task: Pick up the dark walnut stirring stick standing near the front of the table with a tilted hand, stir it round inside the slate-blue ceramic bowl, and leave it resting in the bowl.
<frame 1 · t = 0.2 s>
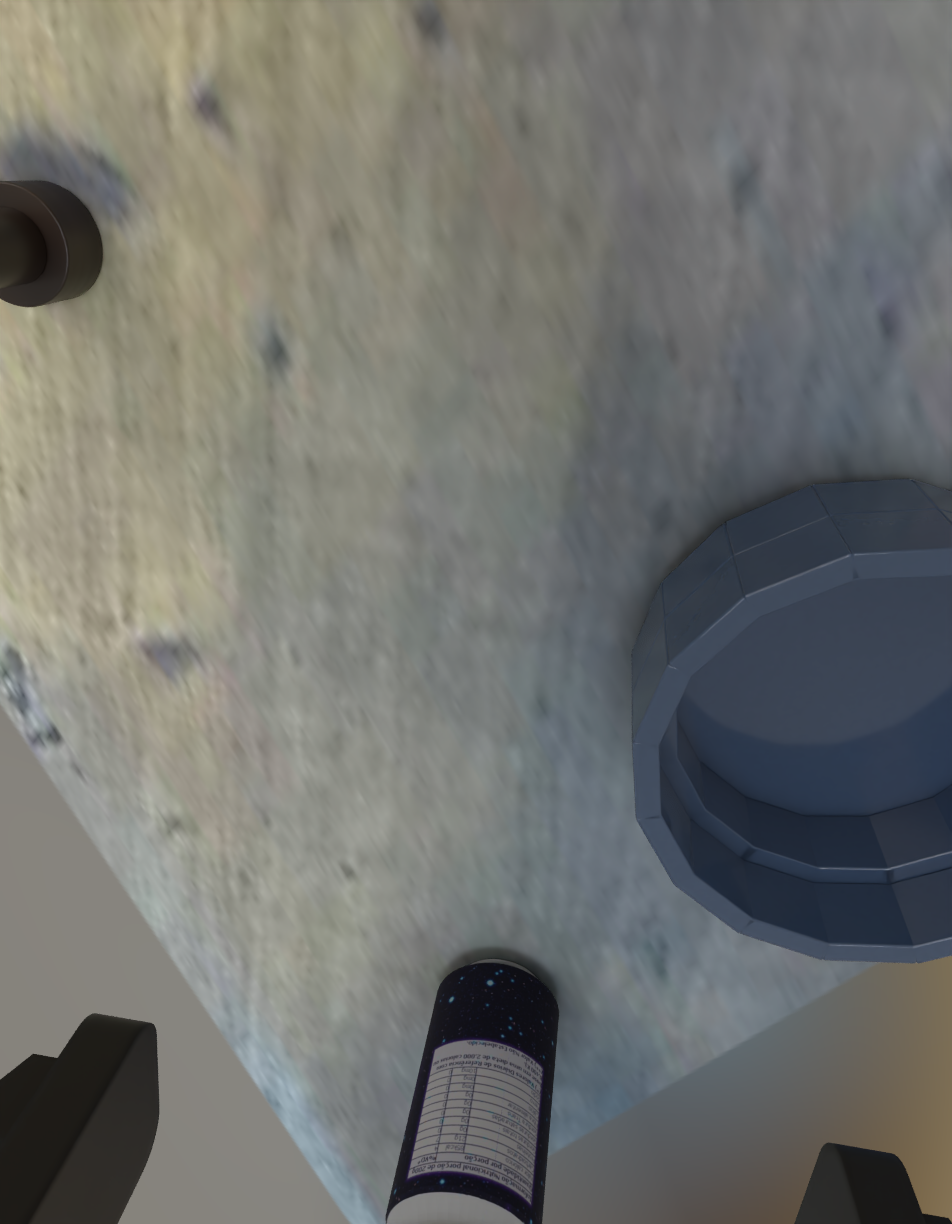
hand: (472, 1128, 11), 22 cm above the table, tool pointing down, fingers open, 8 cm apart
beverage can: (500, 987, 41), on the table
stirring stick: (51, 241, 29), on the table
bowl: (840, 669, 31), on the table
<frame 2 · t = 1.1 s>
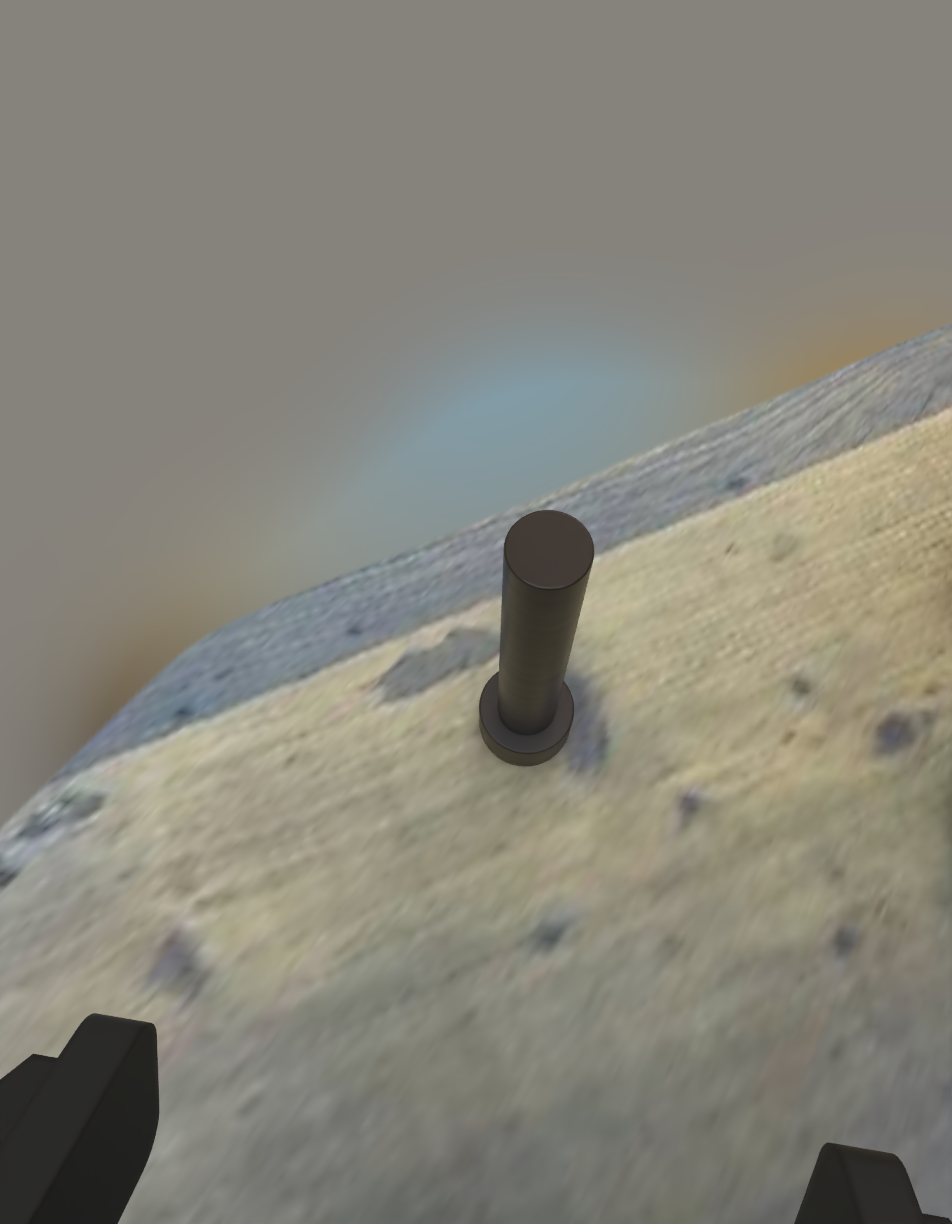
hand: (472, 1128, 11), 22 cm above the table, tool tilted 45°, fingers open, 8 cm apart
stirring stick: (524, 721, 35), on the table
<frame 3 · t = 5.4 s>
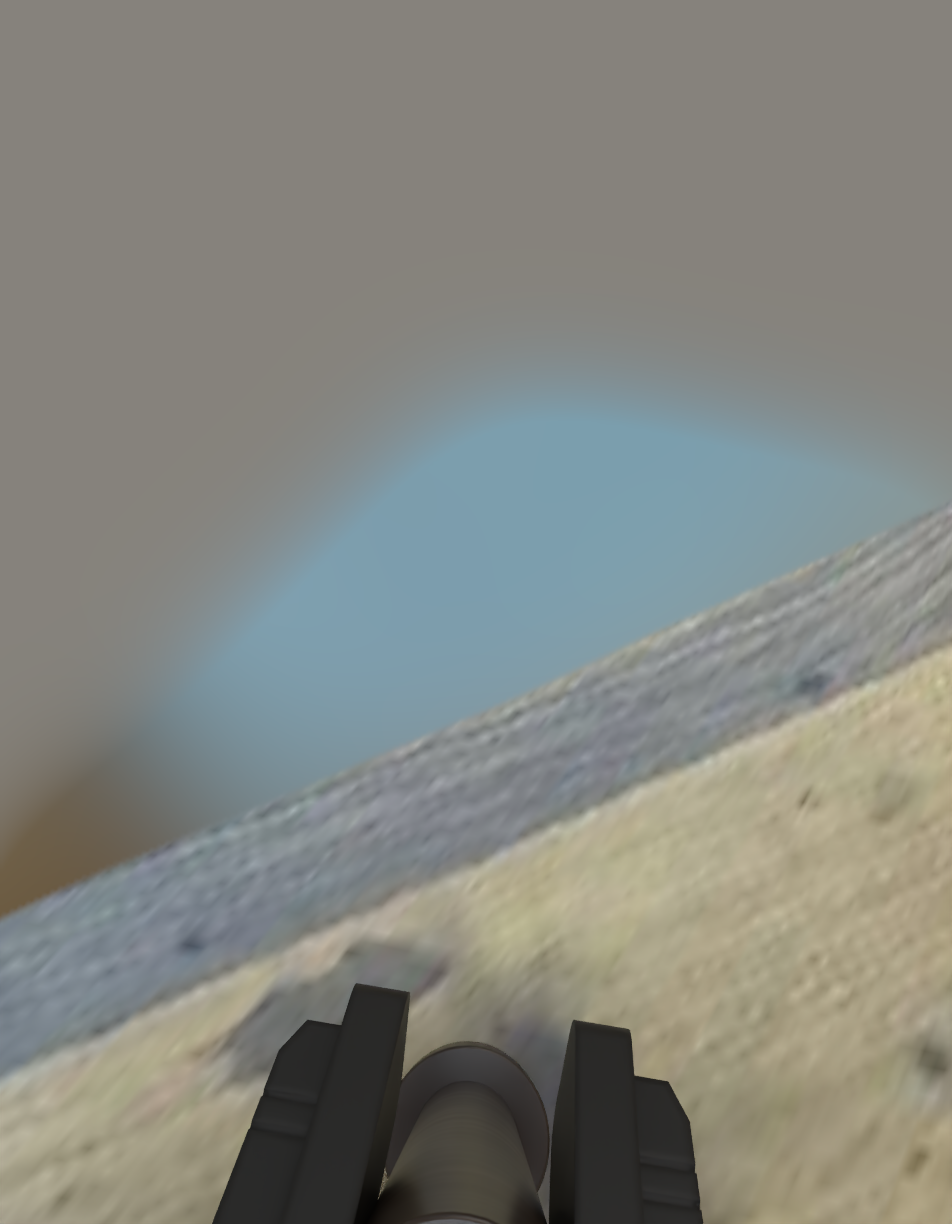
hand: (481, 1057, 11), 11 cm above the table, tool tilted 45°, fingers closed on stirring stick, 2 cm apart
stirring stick: (466, 1126, 21), on the table, touching gripper
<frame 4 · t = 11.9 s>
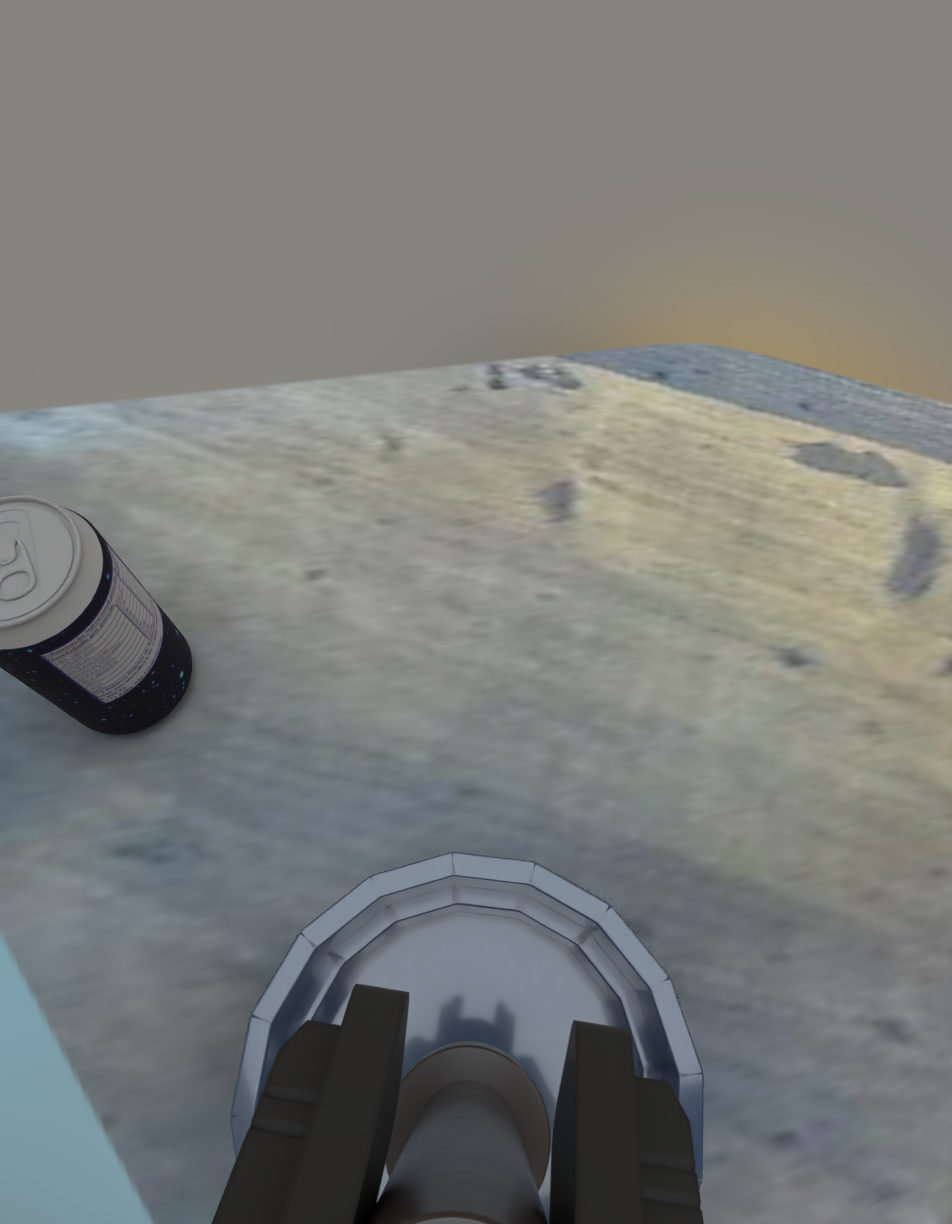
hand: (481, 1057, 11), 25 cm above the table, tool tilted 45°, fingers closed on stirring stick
beverage can: (136, 680, 40), on the table
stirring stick: (467, 1126, 21), point 14 cm above the table, touching gripper
bowl: (470, 1077, 33), on the table
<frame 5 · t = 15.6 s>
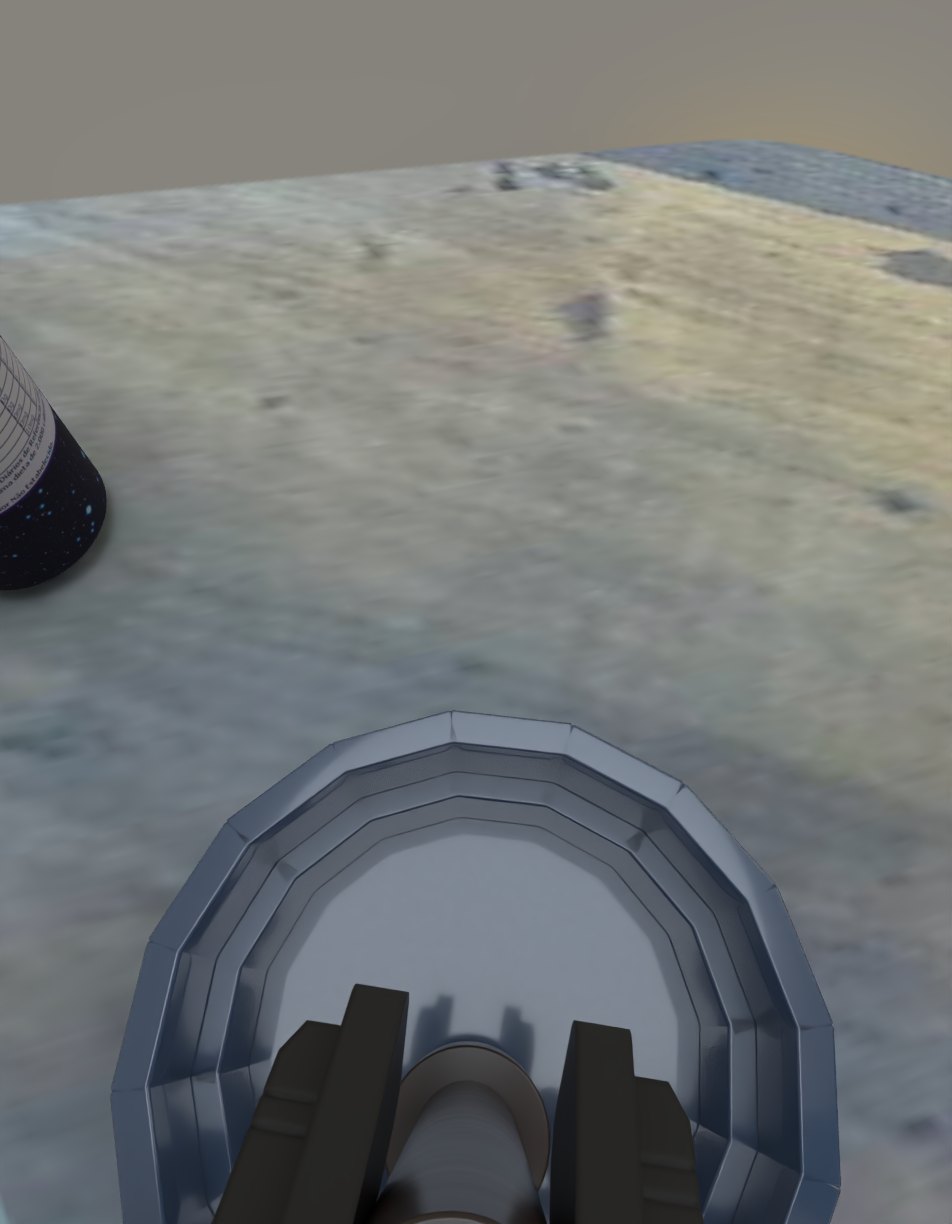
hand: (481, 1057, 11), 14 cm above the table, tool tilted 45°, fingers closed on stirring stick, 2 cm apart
beverage can: (35, 530, 30), on the table
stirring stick: (467, 1126, 21), point 3 cm above the table, touching gripper
bowl: (476, 1043, 24), on the table
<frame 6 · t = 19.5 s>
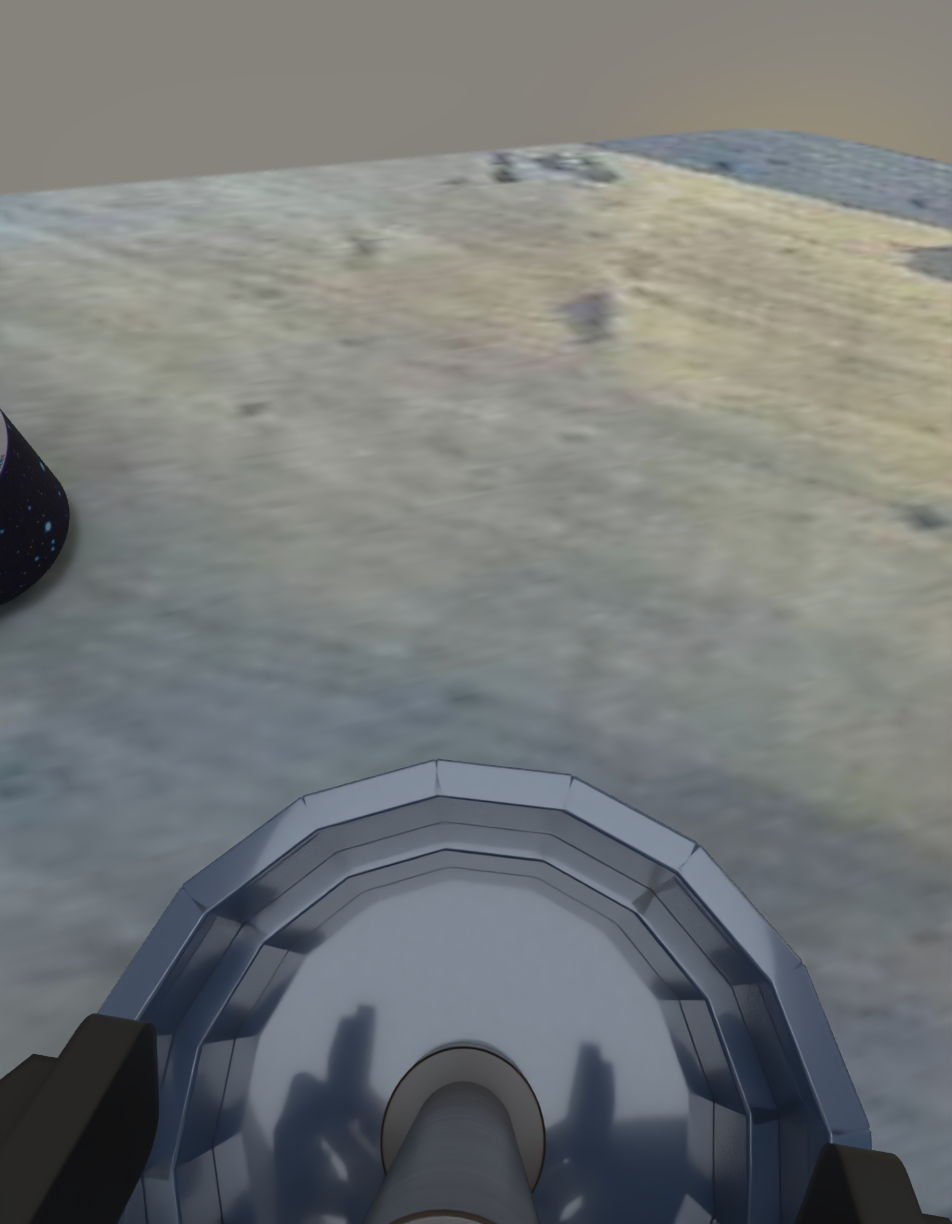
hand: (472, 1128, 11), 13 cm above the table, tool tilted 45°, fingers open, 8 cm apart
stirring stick: (464, 1126, 21), point 1 cm above the table, touching bowl
bowl: (465, 1120, 22), on the table
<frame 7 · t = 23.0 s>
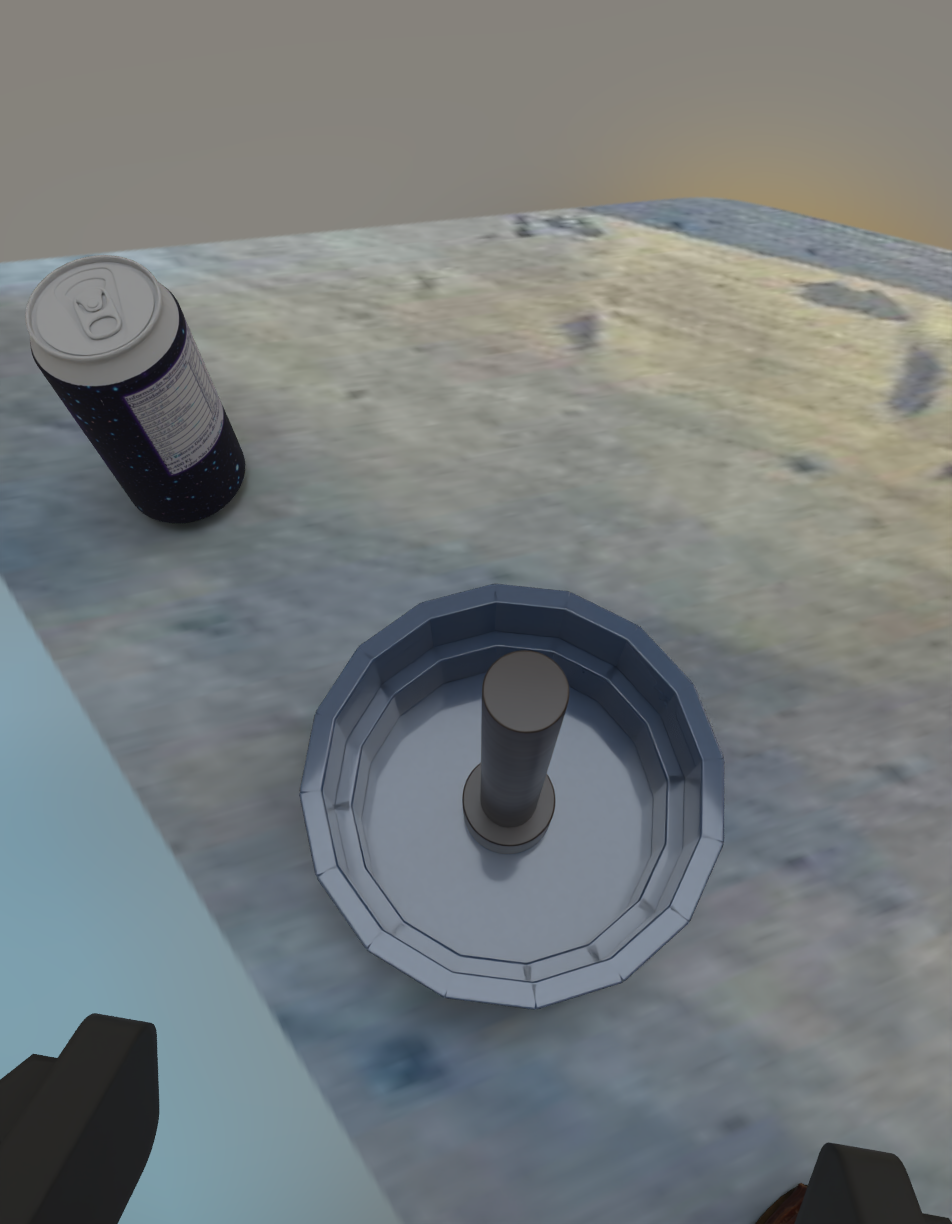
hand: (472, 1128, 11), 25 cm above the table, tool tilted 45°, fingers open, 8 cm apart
beverage can: (192, 484, 43), on the table
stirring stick: (507, 808, 36), point 1 cm above the table, touching bowl
bowl: (507, 811, 37), on the table
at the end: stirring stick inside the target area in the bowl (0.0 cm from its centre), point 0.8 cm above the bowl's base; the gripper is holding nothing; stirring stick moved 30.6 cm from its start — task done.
